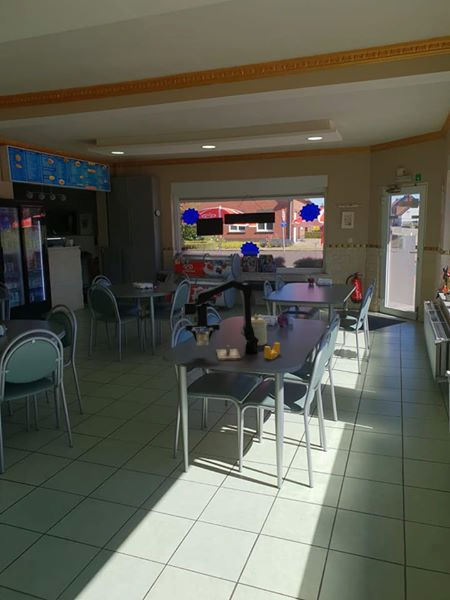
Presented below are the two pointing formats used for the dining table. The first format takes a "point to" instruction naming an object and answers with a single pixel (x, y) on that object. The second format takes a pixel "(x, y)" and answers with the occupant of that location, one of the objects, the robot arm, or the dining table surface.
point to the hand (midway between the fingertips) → (202, 342)
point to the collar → (202, 338)
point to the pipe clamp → (274, 352)
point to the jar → (259, 329)
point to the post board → (228, 354)
